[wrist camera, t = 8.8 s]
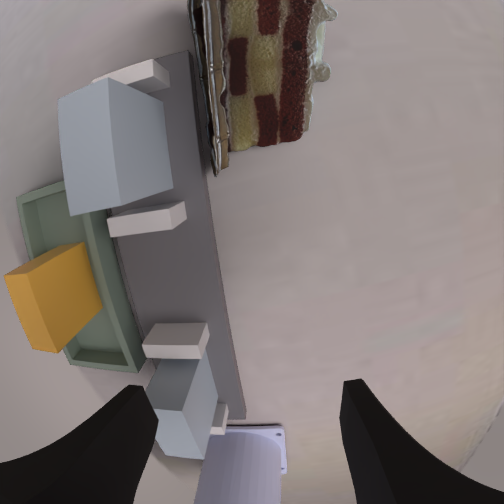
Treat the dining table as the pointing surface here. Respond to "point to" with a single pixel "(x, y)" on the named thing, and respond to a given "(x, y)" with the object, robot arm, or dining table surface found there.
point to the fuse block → (178, 243)
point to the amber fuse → (54, 296)
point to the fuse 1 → (112, 146)
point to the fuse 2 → (183, 405)
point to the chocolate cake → (258, 69)
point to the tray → (104, 272)
